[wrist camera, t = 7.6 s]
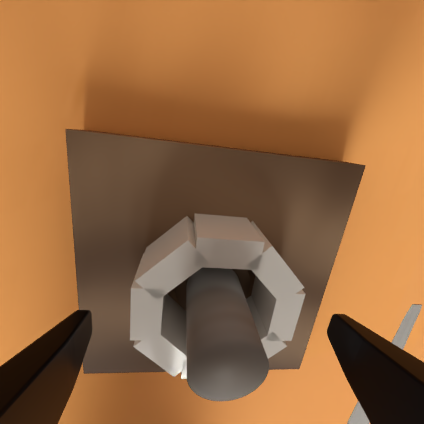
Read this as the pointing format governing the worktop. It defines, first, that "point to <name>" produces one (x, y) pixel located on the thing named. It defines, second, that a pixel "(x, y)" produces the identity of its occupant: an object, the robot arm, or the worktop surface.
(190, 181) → the peg stand
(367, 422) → the butter knife
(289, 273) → the ring
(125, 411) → the worktop surface
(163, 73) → the worktop surface
